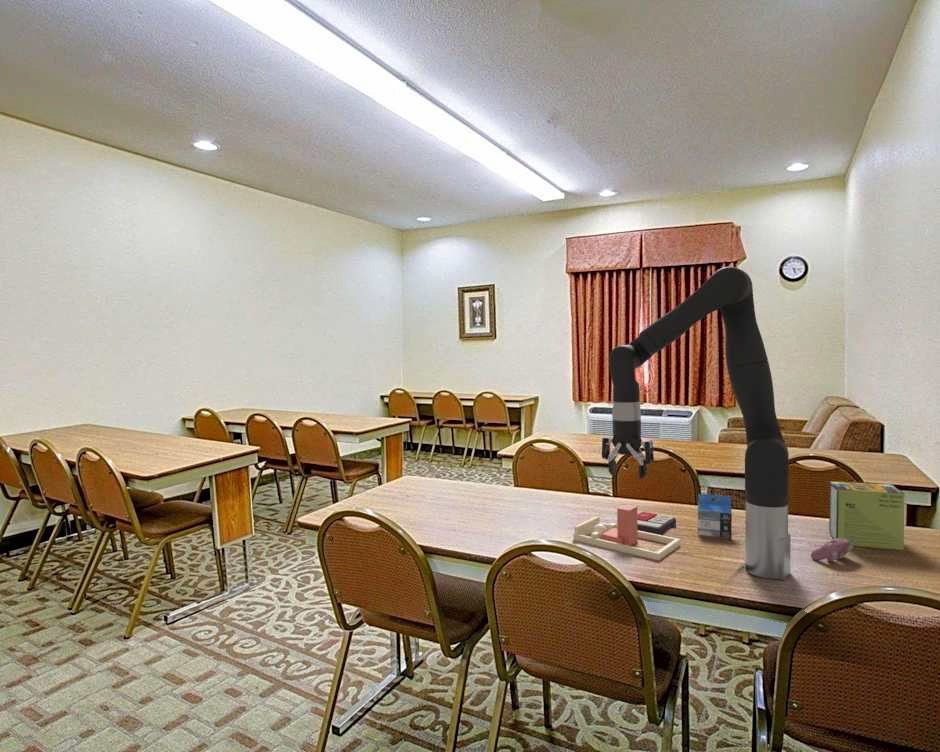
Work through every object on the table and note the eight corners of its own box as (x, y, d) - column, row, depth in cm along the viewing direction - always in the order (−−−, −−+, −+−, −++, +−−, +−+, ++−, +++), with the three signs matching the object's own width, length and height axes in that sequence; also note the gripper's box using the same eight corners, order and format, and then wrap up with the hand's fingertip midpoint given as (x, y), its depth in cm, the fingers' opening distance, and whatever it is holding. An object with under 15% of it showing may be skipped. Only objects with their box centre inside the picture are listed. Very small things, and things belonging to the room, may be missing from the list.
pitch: (680, 550, 156) (680, 531, 155) (658, 565, 145) (658, 546, 145) (597, 531, 172) (597, 515, 172) (573, 544, 162) (573, 527, 161)
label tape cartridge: (697, 539, 164) (697, 496, 163) (697, 535, 168) (697, 493, 167) (731, 542, 161) (731, 499, 160) (730, 538, 164) (730, 495, 164)
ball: (606, 520, 164) (595, 524, 167) (599, 524, 161) (588, 527, 164) (611, 534, 164) (600, 537, 166) (605, 538, 161) (593, 541, 163)
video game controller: (823, 569, 144) (835, 549, 141) (807, 556, 148) (819, 536, 145) (847, 563, 148) (860, 543, 145) (832, 550, 152) (844, 530, 149)
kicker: (639, 540, 160) (638, 505, 159) (627, 547, 154) (627, 511, 154) (613, 535, 165) (613, 501, 164) (601, 541, 160) (601, 506, 159)
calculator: (676, 516, 176) (659, 526, 164) (676, 530, 176) (659, 541, 164) (641, 510, 182) (622, 519, 170) (641, 523, 182) (622, 534, 170)
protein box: (904, 550, 152) (905, 493, 151) (837, 545, 157) (838, 489, 156) (891, 538, 162) (892, 484, 161) (828, 533, 167) (828, 480, 166)
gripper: (657, 418, 155) (658, 477, 155) (609, 415, 164) (610, 471, 165) (645, 421, 149) (646, 482, 150) (596, 417, 159) (597, 475, 159)
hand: (627, 476), depth 157 cm, fingers open, 8 cm apart
